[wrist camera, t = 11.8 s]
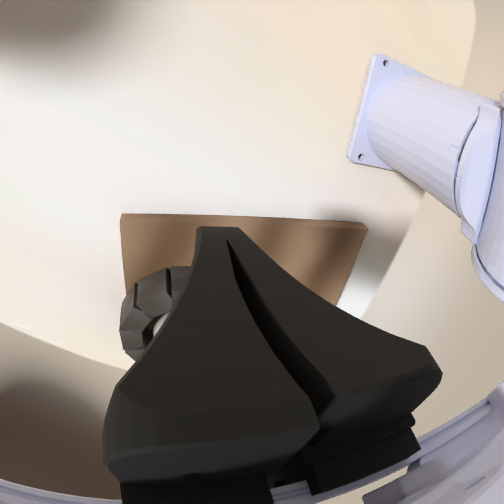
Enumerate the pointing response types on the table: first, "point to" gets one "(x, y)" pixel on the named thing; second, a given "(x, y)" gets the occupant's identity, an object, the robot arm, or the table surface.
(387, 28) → the table surface
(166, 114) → the table surface
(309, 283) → the socket board
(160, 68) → the table surface
